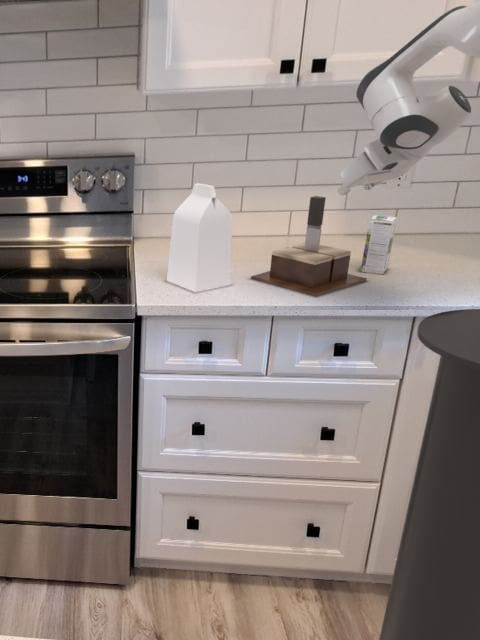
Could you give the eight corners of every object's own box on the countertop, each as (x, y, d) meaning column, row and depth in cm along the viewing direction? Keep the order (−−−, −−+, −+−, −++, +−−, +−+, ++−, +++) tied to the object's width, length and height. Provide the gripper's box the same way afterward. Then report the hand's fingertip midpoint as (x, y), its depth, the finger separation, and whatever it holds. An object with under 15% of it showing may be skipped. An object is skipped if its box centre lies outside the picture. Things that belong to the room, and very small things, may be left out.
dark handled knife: (320, 255, 178) (327, 197, 172) (314, 256, 177) (322, 198, 172) (306, 252, 182) (313, 195, 176) (301, 253, 181) (308, 196, 175)
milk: (166, 281, 188) (170, 184, 177) (200, 274, 192) (206, 179, 182) (195, 293, 178) (201, 191, 167) (230, 285, 182) (238, 185, 171)
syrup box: (364, 266, 191) (372, 214, 185) (388, 269, 187) (397, 216, 182) (360, 272, 187) (368, 218, 181) (384, 275, 183) (393, 220, 177)
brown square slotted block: (366, 281, 179) (371, 251, 176) (315, 297, 170) (320, 266, 167) (299, 266, 195) (303, 238, 192) (250, 279, 186) (253, 250, 183)
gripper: (419, 135, 160) (373, 174, 171) (363, 144, 151) (318, 184, 163) (435, 157, 158) (388, 195, 170) (379, 166, 149) (333, 206, 161)
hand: (353, 190), depth 166 cm, fingers open, 8 cm apart
